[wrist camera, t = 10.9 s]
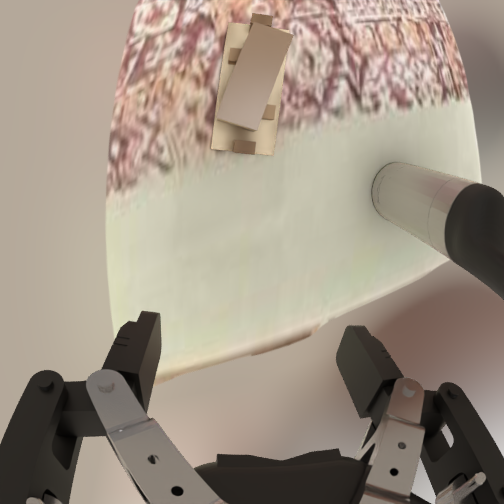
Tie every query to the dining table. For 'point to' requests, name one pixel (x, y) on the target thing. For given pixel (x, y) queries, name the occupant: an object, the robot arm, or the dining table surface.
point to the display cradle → (266, 133)
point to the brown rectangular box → (254, 77)
